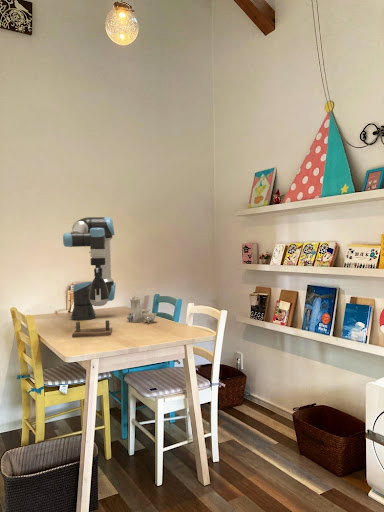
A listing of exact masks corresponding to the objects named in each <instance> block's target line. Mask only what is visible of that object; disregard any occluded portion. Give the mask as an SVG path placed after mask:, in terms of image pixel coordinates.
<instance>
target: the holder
mask: <svg viewBox="0 0 384 512" xmlns="http://www.w3.org/2000/svg"><path fill="white" fill-rule="evenodd" d="M104 322H105V327H100V328H98V327H97V328H81V322H80V321H76V322H75V330H74V332H72V334H71V338H83V337H84V338H86V337H87V338H88V337H89V338H90V337H107V336H109V335H112V333H113V331H112V330H113V327H111V326H110V320H109V319H108V320H105V321H104ZM109 337H110V336H109Z"/></svg>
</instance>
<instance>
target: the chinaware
mask: <svg viewBox="0 0 384 512" xmlns="http://www.w3.org/2000/svg"><path fill="white" fill-rule="evenodd" d="M129 301H130V308H129V312H128V314H127V315H126V319H127V320H128V322H129V323H141V322H143V320H144V321H145V322H146V323H147V324H153V321H155V319H156V317H157V312H155V313H154V312H151V309H148V308H145V309H144V308H141V298H139V297H138V296H137V295H136V294H134V295H133V297H132V298H130V299H129Z"/></svg>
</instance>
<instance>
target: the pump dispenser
mask: <svg viewBox="0 0 384 512" xmlns="http://www.w3.org/2000/svg"><path fill="white" fill-rule="evenodd" d="M91 282H92V284H91V287H90V292H89V300H90V303H91V304H92V306H93V307H102V306H105V305H107V303H108V302H109V301H108V299H109V294H108V289H107V286H106V283H105V281H104V279H103V278H102V277H100V289H101V302H95V289H94V287H95V277H94V278H93V280H92V281H91Z"/></svg>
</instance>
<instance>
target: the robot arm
mask: <svg viewBox="0 0 384 512" xmlns="http://www.w3.org/2000/svg"><path fill="white" fill-rule="evenodd" d="M113 236H115V229H114V223H113V218H112V217H108V216H106V217H105V216H98V217H97V216H94V217H93V216H92V217H91V216H90V217H89V216H86V217H83V218H80V219H78V220H77V221H75V222H73V225H72V226H71V231H70V232H65V233H63V236H62V241H63V242H62V243H63V246H64V248H65V247H66V248H67V247H68V248H72V247H73V248H80V247H89V248H90V249H89V250H90V251H89V252H88V253H89V254H90V257H91V258H90V265H91V266H94V269H93V273H94V278H95V287H94V289H95V302H101V289H100V277H102V278H103V279H104V281H105V283H106V286H107V289H108V294H109V299H108V302H112V301H114V300H115V296H116V295H115V294H116V286H117V283H116V282H114V279H113V278H112V264H111V240H112V239H113ZM91 284H92V281H84V282H83V281H82V282H78V283H74V285H73V289H72V292H73V296H72V297H73V309H72V312H71V317H70V319H71V320H72V321H86V320H87V321H88V320H93V319H96V317H97V316H96V312H95V310H94V306H93V305H92V304H91V303H90V300H89V292H90V287H91Z"/></svg>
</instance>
